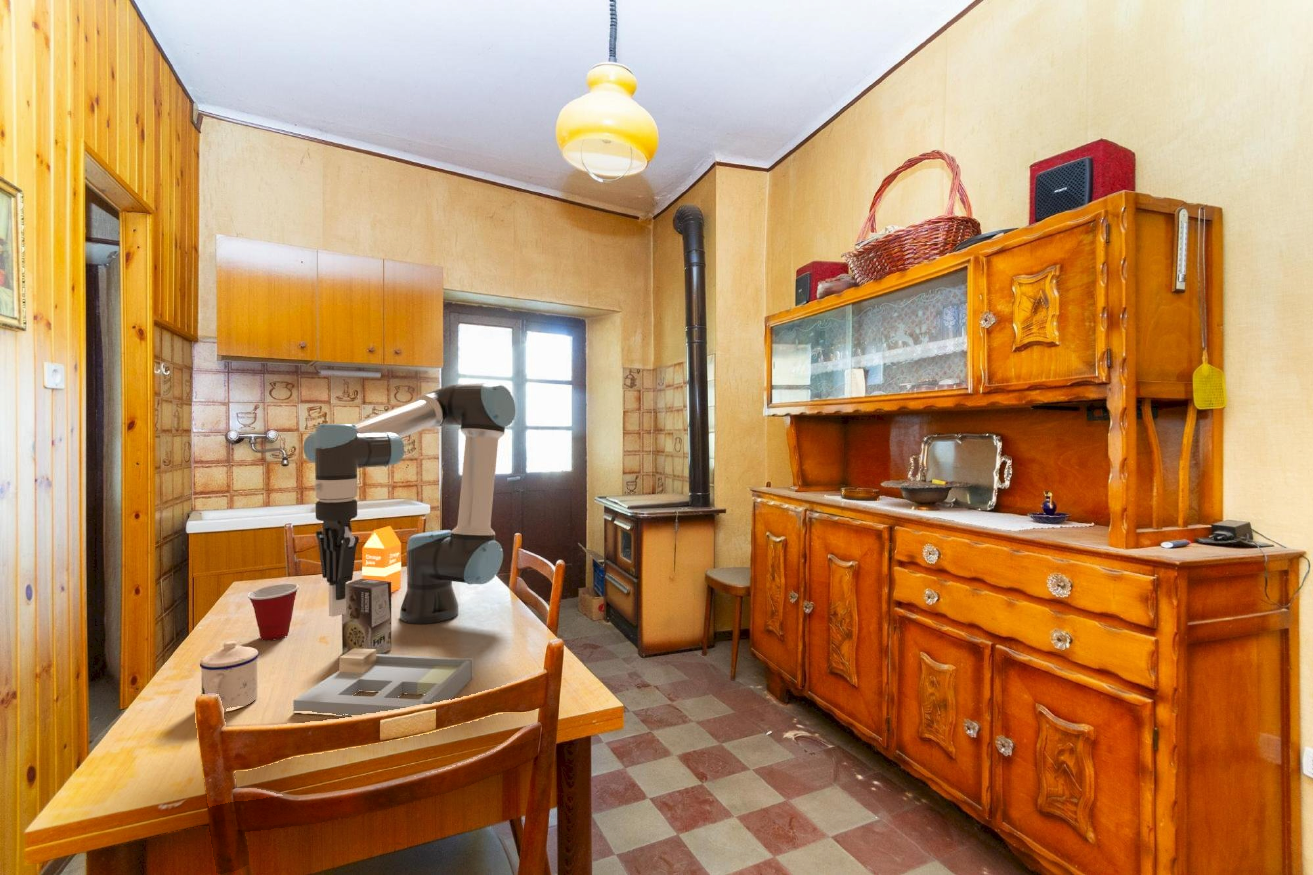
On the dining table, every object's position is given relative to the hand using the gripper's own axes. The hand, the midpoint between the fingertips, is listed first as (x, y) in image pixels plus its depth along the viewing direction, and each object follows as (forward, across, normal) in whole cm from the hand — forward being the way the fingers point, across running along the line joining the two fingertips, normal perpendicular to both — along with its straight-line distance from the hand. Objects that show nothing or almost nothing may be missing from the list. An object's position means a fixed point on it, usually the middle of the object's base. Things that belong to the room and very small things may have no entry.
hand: (337, 614), depth 123 cm
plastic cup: (+14, -39, +3) cm, 41 cm away
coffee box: (+14, -12, +12) cm, 22 cm away
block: (+12, +2, +3) cm, 12 cm away
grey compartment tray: (+14, +13, +3) cm, 20 cm away
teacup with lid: (+14, -5, -18) cm, 23 cm away
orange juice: (+15, -57, +41) cm, 72 cm away
